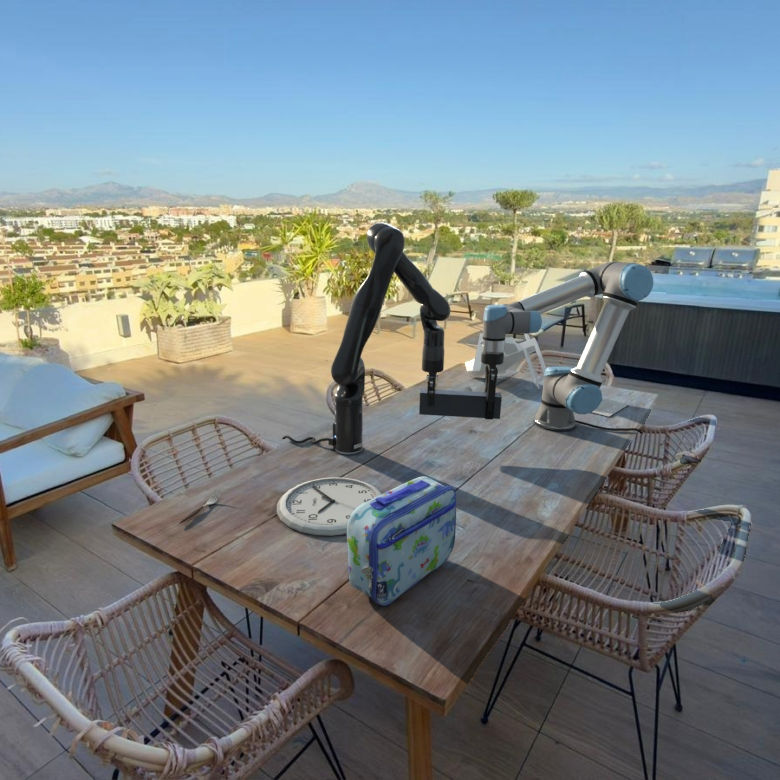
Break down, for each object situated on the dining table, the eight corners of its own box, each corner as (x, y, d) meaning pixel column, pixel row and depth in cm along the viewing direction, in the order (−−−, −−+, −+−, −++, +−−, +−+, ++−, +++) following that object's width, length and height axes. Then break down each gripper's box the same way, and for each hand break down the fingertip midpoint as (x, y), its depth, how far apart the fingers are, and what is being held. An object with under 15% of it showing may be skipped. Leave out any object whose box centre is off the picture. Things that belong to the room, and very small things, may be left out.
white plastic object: (486, 418, 267) (465, 395, 242) (467, 346, 289) (447, 318, 264) (556, 394, 255) (543, 367, 230) (531, 321, 277) (516, 289, 252)
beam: (498, 414, 186) (500, 392, 183) (499, 419, 181) (501, 397, 178) (420, 409, 189) (420, 388, 186) (419, 414, 184) (419, 392, 182)
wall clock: (392, 527, 129) (268, 531, 127) (391, 533, 130) (269, 537, 127) (383, 473, 158) (282, 475, 155) (383, 478, 158) (282, 480, 156)
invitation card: (608, 416, 214) (573, 407, 224) (608, 416, 214) (573, 408, 224) (628, 404, 229) (594, 396, 238) (628, 405, 229) (594, 397, 238)
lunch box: (376, 619, 101) (377, 524, 95) (340, 592, 109) (339, 502, 102) (459, 562, 119) (465, 479, 113) (424, 542, 126) (427, 463, 120)
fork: (175, 524, 132) (174, 517, 132) (215, 495, 146) (215, 489, 146) (183, 526, 131) (182, 519, 131) (223, 497, 146) (222, 490, 145)
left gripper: (423, 352, 187) (422, 397, 192) (420, 361, 173) (419, 410, 179) (444, 352, 186) (442, 398, 191) (443, 362, 173) (441, 411, 178)
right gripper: (480, 345, 186) (476, 407, 193) (483, 357, 169) (478, 424, 175) (501, 346, 185) (496, 408, 192) (506, 358, 168) (501, 425, 175)
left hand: (431, 403), depth 185 cm, fingers closed on beam, 5 cm apart
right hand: (488, 416), depth 184 cm, fingers closed on beam, 5 cm apart
